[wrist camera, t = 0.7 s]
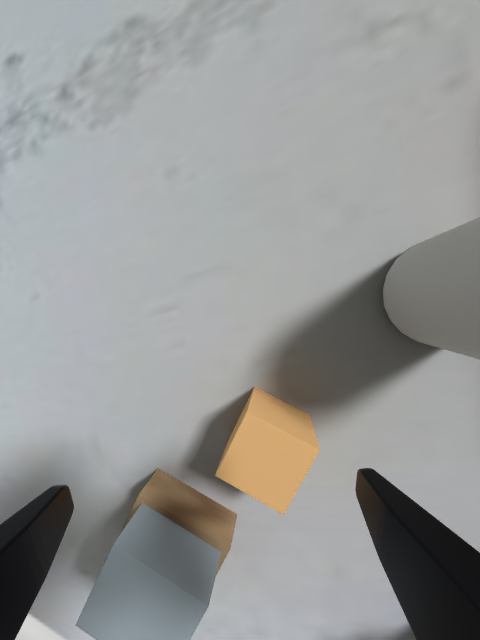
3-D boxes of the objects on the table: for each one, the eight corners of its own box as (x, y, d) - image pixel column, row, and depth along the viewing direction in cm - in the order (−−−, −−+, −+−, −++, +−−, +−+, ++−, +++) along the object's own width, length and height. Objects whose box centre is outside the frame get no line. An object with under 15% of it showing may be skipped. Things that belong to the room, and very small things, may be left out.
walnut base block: (237, 511, 23) (230, 548, 19) (201, 581, 24) (187, 628, 20) (159, 466, 23) (138, 494, 20) (127, 535, 24) (102, 573, 21)
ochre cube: (310, 414, 21) (319, 449, 16) (282, 465, 21) (283, 514, 16) (254, 386, 21) (247, 411, 16) (229, 436, 22) (214, 475, 17)
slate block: (221, 551, 19) (208, 606, 16) (183, 621, 20) (163, 687, 17) (142, 502, 20) (113, 544, 16) (109, 571, 21) (75, 625, 17)
